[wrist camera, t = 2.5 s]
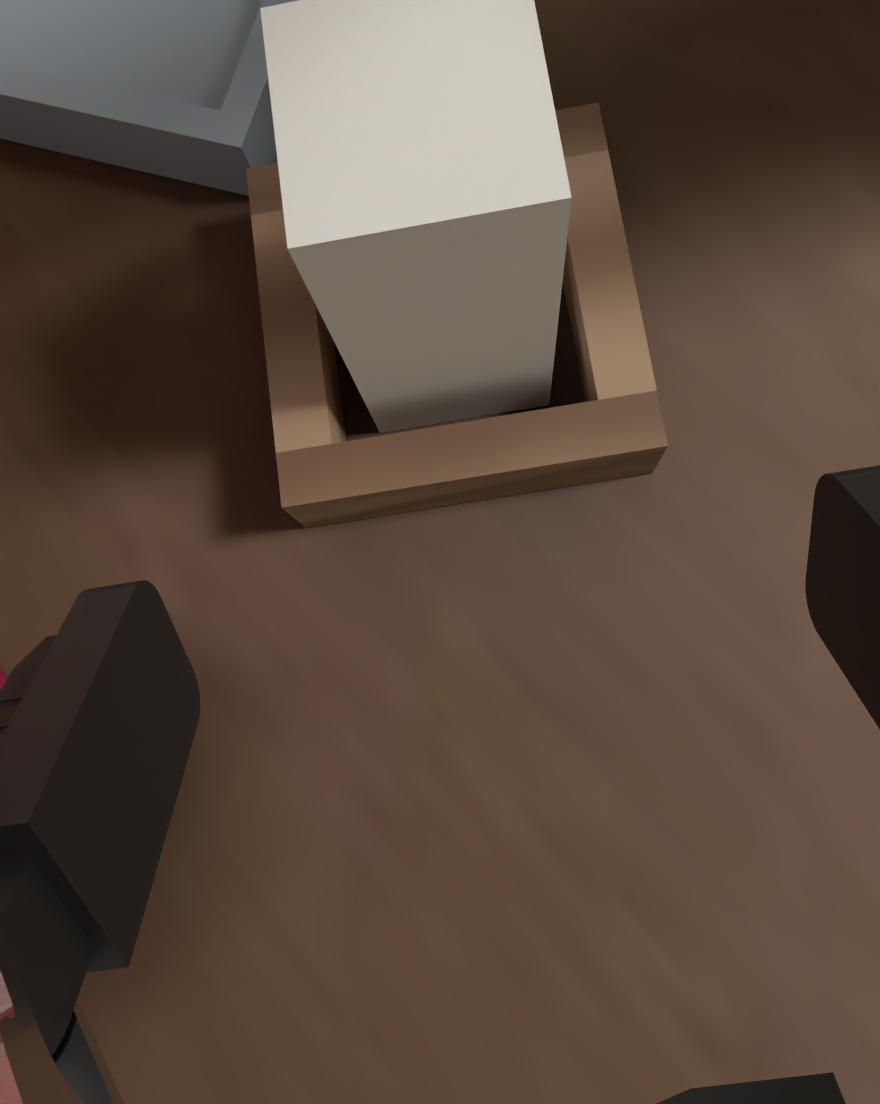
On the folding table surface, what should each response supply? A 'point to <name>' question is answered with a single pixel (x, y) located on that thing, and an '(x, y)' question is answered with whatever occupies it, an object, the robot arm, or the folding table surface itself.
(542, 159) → the tall white pillar
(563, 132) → the wooden square frame
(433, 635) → the folding table surface
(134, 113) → the tray
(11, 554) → the folding table surface
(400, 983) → the folding table surface
